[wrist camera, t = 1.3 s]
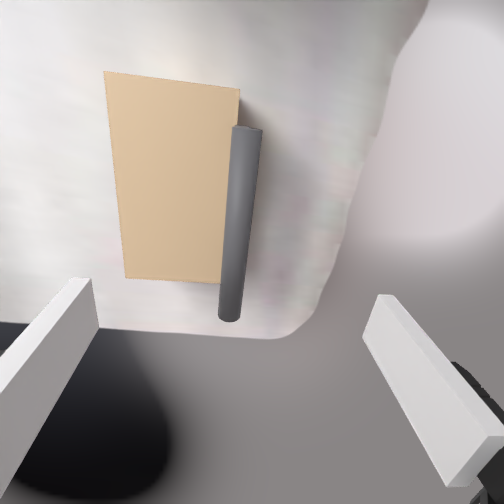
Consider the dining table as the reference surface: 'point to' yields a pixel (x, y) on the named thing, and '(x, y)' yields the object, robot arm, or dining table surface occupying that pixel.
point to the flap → (183, 182)
